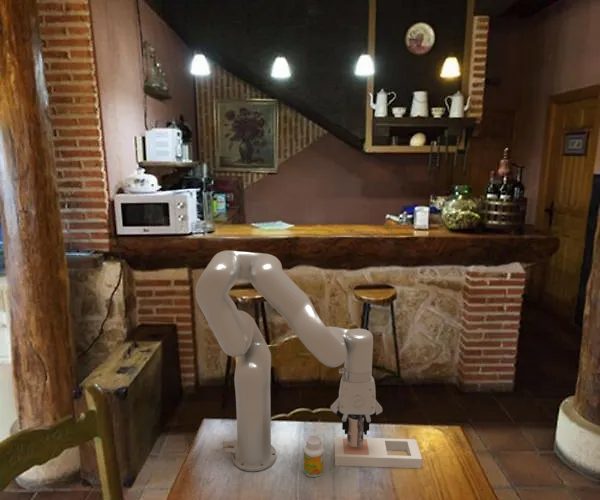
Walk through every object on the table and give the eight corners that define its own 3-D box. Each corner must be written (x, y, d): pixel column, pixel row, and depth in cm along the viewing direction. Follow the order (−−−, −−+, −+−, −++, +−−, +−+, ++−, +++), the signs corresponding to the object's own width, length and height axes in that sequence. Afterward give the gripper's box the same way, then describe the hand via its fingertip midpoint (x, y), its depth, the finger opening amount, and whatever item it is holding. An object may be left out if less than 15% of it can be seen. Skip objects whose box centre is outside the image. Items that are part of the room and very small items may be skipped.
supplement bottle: (300, 474, 132) (301, 443, 130) (307, 462, 137) (307, 432, 134) (319, 479, 130) (320, 447, 128) (325, 467, 135) (326, 436, 133)
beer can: (362, 449, 136) (364, 411, 133) (345, 447, 137) (347, 409, 134) (363, 439, 141) (365, 402, 138) (347, 437, 141) (348, 400, 139)
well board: (334, 465, 136) (335, 455, 135) (334, 445, 144) (334, 436, 144) (421, 468, 135) (422, 458, 134) (415, 448, 143) (415, 438, 143)
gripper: (327, 379, 130) (325, 438, 135) (390, 380, 130) (387, 440, 134) (326, 366, 138) (325, 423, 142) (386, 367, 137) (383, 425, 141)
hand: (355, 431), depth 138 cm, fingers closed on beer can, 4 cm apart
